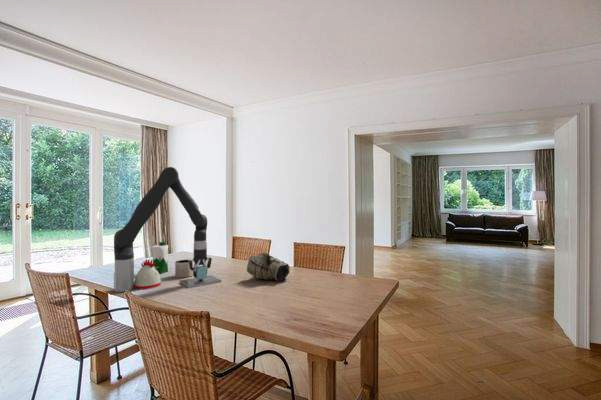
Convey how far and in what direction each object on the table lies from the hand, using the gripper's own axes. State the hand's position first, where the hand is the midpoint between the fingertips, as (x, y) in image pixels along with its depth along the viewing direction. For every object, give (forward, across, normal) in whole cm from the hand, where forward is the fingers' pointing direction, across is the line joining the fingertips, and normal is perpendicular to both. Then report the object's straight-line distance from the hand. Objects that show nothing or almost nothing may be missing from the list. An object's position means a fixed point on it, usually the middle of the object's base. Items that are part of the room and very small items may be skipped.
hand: (200, 276), depth 188 cm
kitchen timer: (+4, +26, -13) cm, 29 cm away
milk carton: (+4, +11, -41) cm, 43 cm away
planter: (+4, +2, -21) cm, 21 cm away
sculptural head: (+4, -36, +19) cm, 41 cm away
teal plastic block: (+1, 0, 0) cm, 1 cm away
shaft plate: (+4, 0, 0) cm, 4 cm away
